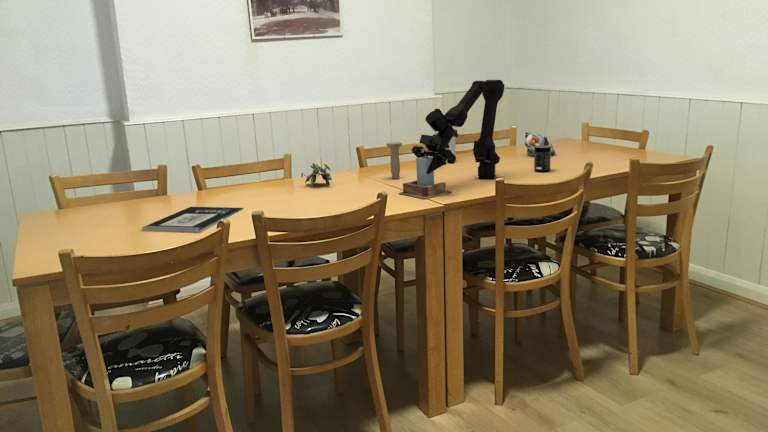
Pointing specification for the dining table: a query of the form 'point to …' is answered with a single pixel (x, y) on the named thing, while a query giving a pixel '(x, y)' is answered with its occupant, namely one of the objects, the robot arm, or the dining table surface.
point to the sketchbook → (192, 219)
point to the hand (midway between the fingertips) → (422, 172)
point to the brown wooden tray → (424, 190)
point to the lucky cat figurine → (536, 142)
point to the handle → (395, 159)
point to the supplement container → (542, 158)
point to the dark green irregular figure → (321, 172)
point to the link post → (424, 171)
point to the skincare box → (451, 145)
